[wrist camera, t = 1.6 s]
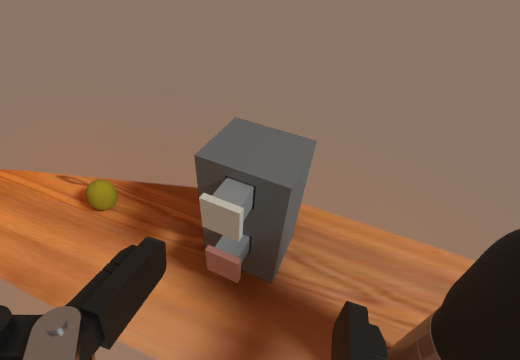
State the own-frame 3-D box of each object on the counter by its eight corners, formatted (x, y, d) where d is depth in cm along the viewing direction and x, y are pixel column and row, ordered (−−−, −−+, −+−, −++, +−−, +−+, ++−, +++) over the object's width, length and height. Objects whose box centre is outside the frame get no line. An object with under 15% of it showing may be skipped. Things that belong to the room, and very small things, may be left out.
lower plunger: (237, 283, 42) (238, 264, 38) (207, 269, 43) (204, 249, 40) (260, 240, 48) (263, 220, 44) (233, 229, 50) (233, 209, 46)
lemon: (90, 206, 59) (76, 179, 54) (116, 195, 62) (105, 169, 57) (98, 222, 56) (85, 195, 51) (125, 210, 59) (115, 183, 54)
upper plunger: (238, 242, 34) (239, 213, 31) (202, 226, 36) (199, 197, 32) (265, 197, 41) (269, 169, 37) (233, 185, 42) (234, 157, 39)
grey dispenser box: (271, 283, 49) (291, 188, 33) (205, 253, 52) (194, 155, 36) (292, 235, 57) (316, 140, 41) (234, 212, 61) (235, 117, 45)
